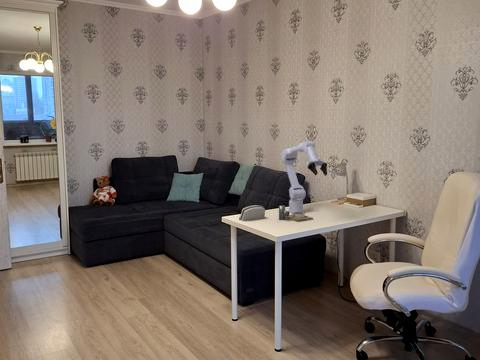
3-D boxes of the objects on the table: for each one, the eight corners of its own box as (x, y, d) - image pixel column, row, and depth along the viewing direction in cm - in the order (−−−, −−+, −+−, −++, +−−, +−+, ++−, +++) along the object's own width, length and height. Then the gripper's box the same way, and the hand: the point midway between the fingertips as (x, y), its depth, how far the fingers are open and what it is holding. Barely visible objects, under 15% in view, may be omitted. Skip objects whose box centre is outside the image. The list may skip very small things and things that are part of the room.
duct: (284, 217, 273) (284, 212, 273) (299, 215, 279) (299, 210, 279) (297, 221, 262) (297, 216, 261) (313, 219, 268) (313, 213, 267)
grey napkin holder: (260, 216, 278) (263, 203, 274) (264, 220, 274) (267, 206, 270) (238, 219, 270) (240, 205, 266) (241, 223, 267) (244, 209, 262)
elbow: (277, 219, 270) (277, 205, 268) (282, 218, 272) (282, 205, 270) (284, 221, 263) (284, 208, 262) (289, 220, 265) (290, 207, 264)
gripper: (307, 152, 260) (315, 170, 253) (325, 153, 267) (334, 171, 260) (301, 159, 265) (309, 177, 258) (319, 160, 272) (327, 177, 265)
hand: (321, 174), depth 259 cm, fingers open, 7 cm apart
